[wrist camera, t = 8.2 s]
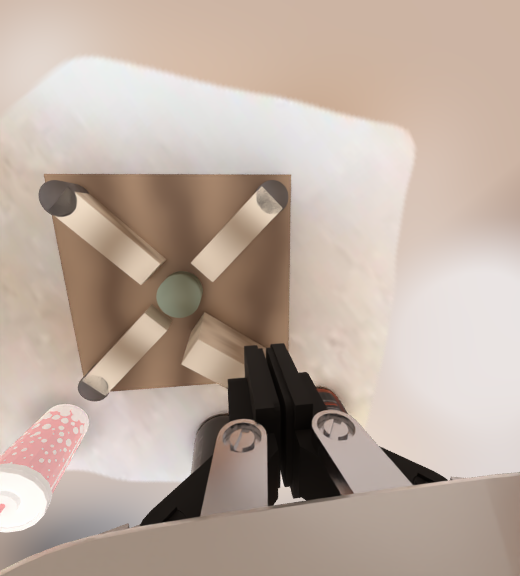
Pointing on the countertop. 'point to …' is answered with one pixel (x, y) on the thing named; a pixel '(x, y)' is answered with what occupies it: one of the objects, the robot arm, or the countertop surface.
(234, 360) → the hinged leg
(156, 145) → the countertop surface
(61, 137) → the countertop surface
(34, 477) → the beverage cup
